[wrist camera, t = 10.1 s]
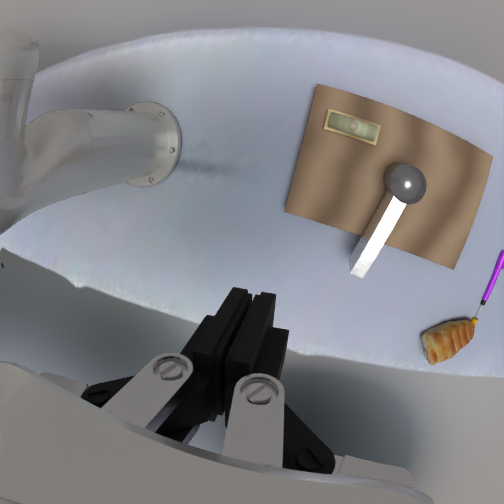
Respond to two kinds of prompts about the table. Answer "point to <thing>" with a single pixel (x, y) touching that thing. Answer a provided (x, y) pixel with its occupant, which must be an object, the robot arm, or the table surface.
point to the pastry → (446, 339)
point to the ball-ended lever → (387, 213)
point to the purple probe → (491, 282)
